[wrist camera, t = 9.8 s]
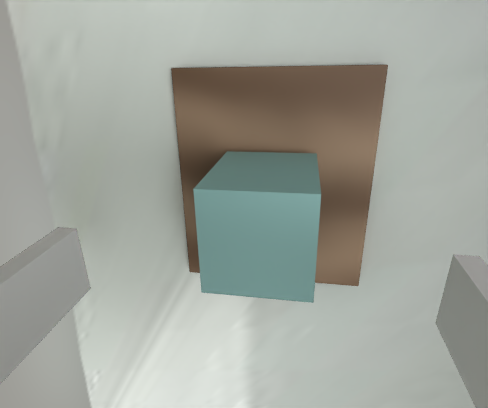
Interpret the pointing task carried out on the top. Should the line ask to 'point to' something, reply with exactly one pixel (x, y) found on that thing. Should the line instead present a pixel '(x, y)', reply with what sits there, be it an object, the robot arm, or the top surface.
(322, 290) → the top surface
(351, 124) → the brown square panel
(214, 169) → the teal rectangular block
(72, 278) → the robot arm
